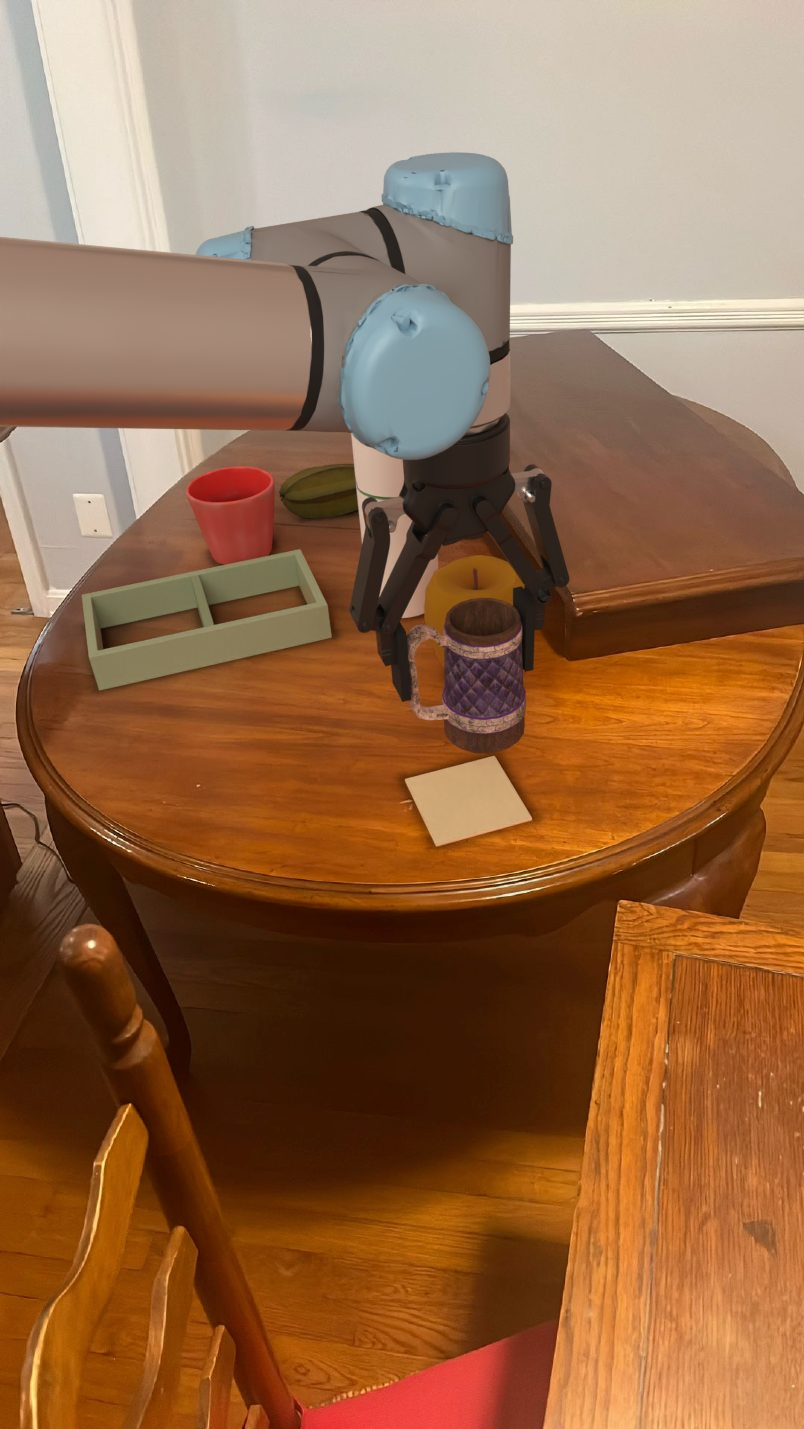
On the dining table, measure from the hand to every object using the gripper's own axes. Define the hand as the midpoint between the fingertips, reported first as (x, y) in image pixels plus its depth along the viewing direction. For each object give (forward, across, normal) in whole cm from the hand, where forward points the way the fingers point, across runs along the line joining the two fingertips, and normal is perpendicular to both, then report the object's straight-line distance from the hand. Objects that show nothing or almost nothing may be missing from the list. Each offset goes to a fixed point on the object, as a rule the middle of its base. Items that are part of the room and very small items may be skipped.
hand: (463, 676), depth 82 cm
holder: (+14, +18, -37) cm, 44 cm away
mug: (+6, 0, 0) cm, 6 cm away
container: (+14, -5, -35) cm, 38 cm away
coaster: (+14, 0, 0) cm, 14 cm away
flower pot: (+14, +11, -54) cm, 57 cm away
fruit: (+14, -3, -60) cm, 62 cm away
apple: (+14, -8, -18) cm, 24 cm away
